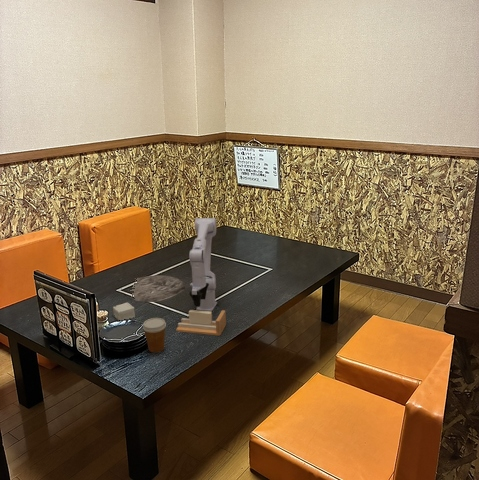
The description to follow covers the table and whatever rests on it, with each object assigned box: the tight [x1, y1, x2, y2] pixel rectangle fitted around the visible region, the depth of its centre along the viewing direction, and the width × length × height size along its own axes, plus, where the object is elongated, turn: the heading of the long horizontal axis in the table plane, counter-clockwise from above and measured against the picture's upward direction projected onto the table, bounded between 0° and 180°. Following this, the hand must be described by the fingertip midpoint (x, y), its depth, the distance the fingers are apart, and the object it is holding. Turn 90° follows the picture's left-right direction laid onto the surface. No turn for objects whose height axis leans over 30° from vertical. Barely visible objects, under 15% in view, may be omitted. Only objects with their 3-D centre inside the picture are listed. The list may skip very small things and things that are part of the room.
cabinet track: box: [175, 310, 227, 336], centre depth 208 cm, size 10×20×7 cm, turn 76°
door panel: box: [188, 309, 213, 326], centre depth 208 cm, size 2×10×7 cm, turn 76°
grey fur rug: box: [130, 274, 186, 303], centre depth 253 cm, size 33×35×1 cm
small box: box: [112, 302, 136, 321], centre depth 221 cm, size 8×8×5 cm
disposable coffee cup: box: [142, 317, 167, 353], centre depth 192 cm, size 10×10×12 cm
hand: (200, 302), depth 212 cm, fingers open, 7 cm apart
